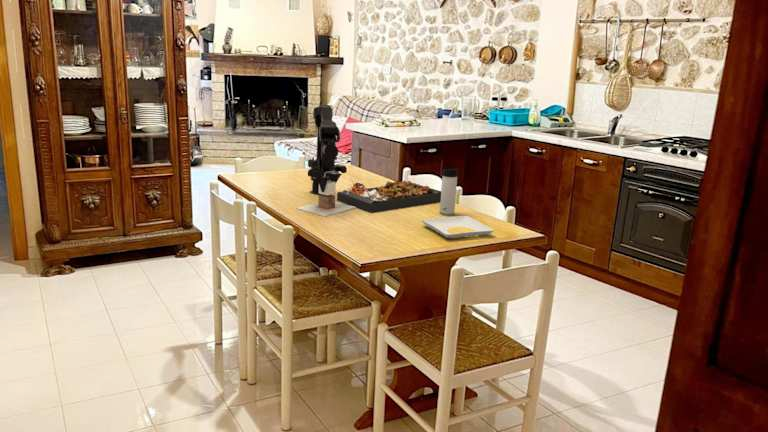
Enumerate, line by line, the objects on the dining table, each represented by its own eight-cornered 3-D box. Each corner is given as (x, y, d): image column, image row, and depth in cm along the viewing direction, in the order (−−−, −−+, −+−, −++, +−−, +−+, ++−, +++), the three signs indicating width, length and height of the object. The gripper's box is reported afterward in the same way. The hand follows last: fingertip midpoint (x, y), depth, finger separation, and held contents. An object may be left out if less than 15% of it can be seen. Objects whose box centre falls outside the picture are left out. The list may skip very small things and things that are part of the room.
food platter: (370, 214, 262) (371, 190, 259) (336, 201, 280) (337, 179, 277) (446, 202, 290) (448, 180, 287) (411, 191, 308) (413, 171, 305)
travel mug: (445, 216, 262) (448, 170, 257) (436, 212, 268) (440, 167, 263) (457, 215, 265) (461, 169, 260) (449, 211, 271) (452, 166, 265)
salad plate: (445, 242, 228) (446, 233, 227) (419, 226, 247) (420, 218, 246) (494, 238, 237) (495, 229, 236) (465, 223, 255) (466, 215, 254)
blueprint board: (327, 201, 277) (327, 199, 277) (356, 208, 268) (356, 206, 268) (296, 209, 262) (296, 207, 261) (325, 216, 253) (325, 215, 252)
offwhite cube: (326, 191, 267) (326, 180, 265) (335, 193, 264) (335, 181, 262) (318, 193, 263) (318, 181, 261) (327, 195, 260) (327, 183, 259)
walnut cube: (326, 205, 268) (326, 193, 267) (335, 207, 265) (335, 195, 264) (318, 207, 264) (318, 195, 263) (327, 209, 261) (327, 197, 260)
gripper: (328, 149, 271) (327, 184, 275) (298, 154, 256) (297, 191, 260) (348, 153, 264) (346, 189, 269) (318, 158, 250) (317, 195, 254)
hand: (327, 191), depth 263 cm, fingers closed on offwhite cube, 5 cm apart
